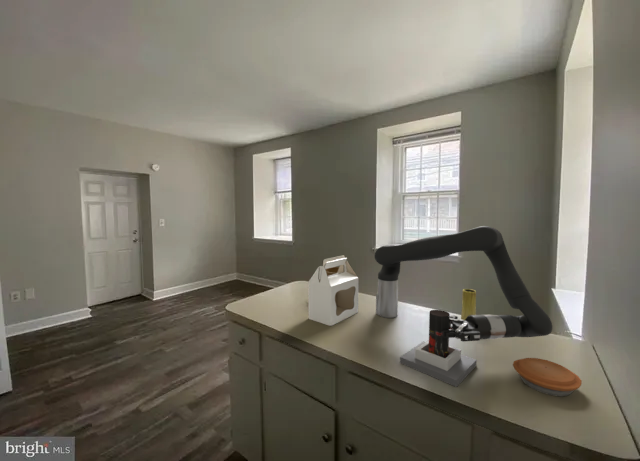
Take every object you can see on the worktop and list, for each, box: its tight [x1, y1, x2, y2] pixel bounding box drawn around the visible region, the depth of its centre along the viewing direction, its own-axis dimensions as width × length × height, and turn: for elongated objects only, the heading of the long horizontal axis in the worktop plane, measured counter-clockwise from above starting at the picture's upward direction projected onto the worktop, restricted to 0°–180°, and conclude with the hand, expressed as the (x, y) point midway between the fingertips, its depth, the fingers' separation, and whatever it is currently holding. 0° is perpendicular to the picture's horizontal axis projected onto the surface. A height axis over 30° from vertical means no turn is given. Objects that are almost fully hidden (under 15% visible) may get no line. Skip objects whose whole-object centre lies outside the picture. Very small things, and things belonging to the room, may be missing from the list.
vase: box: [460, 288, 477, 320], centre depth 128 cm, size 6×6×14 cm
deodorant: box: [428, 309, 451, 358], centre depth 93 cm, size 6×6×15 cm
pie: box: [512, 357, 583, 397], centre depth 83 cm, size 15×16×5 cm
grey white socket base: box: [399, 339, 478, 388], centre depth 93 cm, size 18×16×5 cm
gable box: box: [307, 254, 359, 327], centre depth 136 cm, size 22×13×28 cm, turn 140°
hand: (436, 328), depth 93 cm, fingers open, 8 cm apart
